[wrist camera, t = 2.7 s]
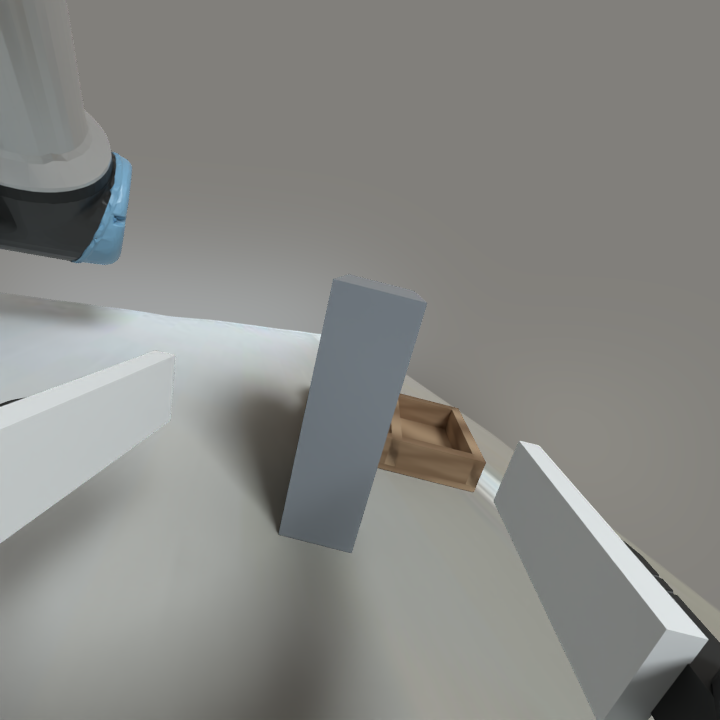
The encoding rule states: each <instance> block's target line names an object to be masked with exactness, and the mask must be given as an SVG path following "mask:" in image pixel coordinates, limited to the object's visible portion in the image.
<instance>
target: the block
mask: <svg viewBox="0 0 720 720" xmlns="http://www.w3.org/2000/svg"><path fill="white" fill-rule="evenodd" d="M426 305H427V302H426V301H424V300H423V299H422V298H421V297H420V296H419V295H418V294H417V293H416V292H415V291H412V290H409V289H405V288H401V287H397V286H393V285H389V284H385V283H382V282H378V281H373V280H369V279H366V278H361V277H358V276H354V275H350V274H348V275H345V276H342V277H338V278H335V279H333V283H332V288H331V292H330V297H329V302H328V306H327V311H326V316H325V320H324V325H323V330H322V334H321V339H320V344H319V348H318V353H317V358H316V362H315V367H314V372H313V376H312V381H311V386H310V390H309V395H308V400H307V404H306V409H305V414H304V418H303V423H302V428H301V432H300V437H299V442H298V446H297V451H296V456H295V460H294V465H293V470H292V474H291V479H290V484H289V488H288V493H287V498H286V502H285V507H284V512H283V516H282V521H281V525H280V530H279V535H282V536H286V537H290V538H294V539H298V540H302V541H306V542H310V543H314V544H318V545H322V546H325V547H329V548H333V549H337V550H341V551H345V552H349V553H352V550H353V547H354V543H355V540H356V537H357V533H358V530H359V527H360V523H361V520H362V517H363V514H364V510H365V507H366V504H367V500H368V497H369V494H370V490H371V487H372V484H373V481H374V477H375V474H376V471H377V467H378V464H379V461H380V457H381V454H382V451H383V448H384V444H385V441H386V438H387V434H388V431H389V428H390V424H391V421H392V418H393V415H394V411H395V408H396V405H397V401H398V398H399V395H400V391H401V388H402V385H403V381H404V378H405V375H406V371H407V368H408V365H409V362H410V358H411V355H412V352H413V348H414V345H415V342H416V339H417V335H418V332H419V329H420V325H421V322H422V319H423V315H424V312H425V309H426Z"/></svg>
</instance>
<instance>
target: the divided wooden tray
mask: <svg viewBox="0 0 720 720" xmlns="http://www.w3.org/2000/svg"><path fill="white" fill-rule="evenodd" d="M485 464H486V462H485V460H484V458H483V456H482V454H481V452H480V450H479V448H478V446H477V444H476V442H475V440H474V438H473V436H472V434H471V432H470V431H469V429H468V427H467V425H466V423H465V421H464V419H463V417H462V415H461V413H460V411H459V409H458V408H455V407H451V406H447V405H443V404H439V403H435V402H431V401H427V400H423V399H419V398H415V397H412V396H408V395H404V394H400V395H399V398H398V401H397V405H396V408H395V411H394V415H393V418H392V421H391V424H390V428H389V431H388V434H387V438H386V441H385V444H384V448H383V451H382V454H381V457H380V461H379V464H378V467H377V468H380V469H384V470H388V471H392V472H396V473H400V474H404V475H408V476H412V477H416V478H420V479H423V480H427V481H431V482H435V483H439V484H443V485H447V486H451V487H455V488H459V489H463V490H467V491H471V492H474V490H475V488H476V485H477V483H478V480H479V478H480V476H481V473H482V471H483V468H484V466H485Z"/></svg>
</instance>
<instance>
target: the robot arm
mask: <svg viewBox="0 0 720 720" xmlns="http://www.w3.org/2000/svg"><path fill="white" fill-rule="evenodd" d="M131 175H132V166H131V164H130V162H129V161H128V160H127V159H125V158H123V157H121V156H119V154H117V153H114V152H111V148H110V144H109V140H108V138H107V136H106V134H105V132H104V131H103V129H102V128H101V126H100V125H99V124H98V123H97V122H96V120H95V119H94V118H93V117H92V116H91V115H90V114H89V113H88V112H86V111H85V110H84V105H83V100H82V93H81V87H80V80H79V74H78V68H77V62H76V56H75V50H74V44H73V37H72V31H71V25H70V19H69V13H68V7H67V1H66V0H0V249H5V250H10V251H16V252H22V253H27V254H33V255H39V256H45V257H50V258H56V259H62V260H67V261H71V262H74V263H81V262H85V263H94V264H102V265H108V264H112V263H114V262H115V261H117V260H118V259H119V257H120V254H121V249H122V243H123V237H124V229H125V220H126V214H127V208H128V201H129V193H130V184H131ZM175 357H176V355H173V354H169V353H165V352H161V351H157V350H155V351H152V352H149V353H147V354H144V355H141V356H138V357H136V358H133V359H130V360H127V361H125V362H122V363H119V364H117V365H114V366H111V367H108V368H106V369H103V370H100V371H97V372H95V373H92V374H89V375H86V376H84V377H81V378H78V379H75V380H73V381H70V382H67V383H65V384H62V385H59V386H56V387H54V388H51V389H48V390H45V391H43V392H40V393H37V394H34V395H32V396H29V397H25V398H20V399H15V400H10V401H7V402H5V403H2V404H0V543H1V542H3V541H4V540H6V539H7V538H8V537H10V536H11V535H13V534H14V533H15V532H17V531H18V530H19V529H21V528H22V527H24V526H25V525H26V524H28V523H29V522H31V521H32V520H33V519H35V518H36V517H38V516H39V515H40V514H42V513H43V512H44V511H46V510H47V509H49V508H50V507H51V506H53V505H54V504H56V503H57V502H58V501H60V500H61V499H62V498H64V497H65V496H67V495H68V494H69V493H71V492H72V491H74V490H75V489H76V488H78V487H79V486H80V485H82V484H83V483H85V482H86V481H87V480H89V479H90V478H92V477H93V476H94V475H96V474H97V473H99V472H100V471H101V470H103V469H104V468H105V467H107V466H108V465H110V464H111V463H112V462H114V461H115V460H117V459H118V458H119V457H121V456H122V455H123V454H125V453H126V452H128V451H129V450H130V449H132V448H133V447H135V446H136V445H137V444H139V443H140V442H141V441H143V440H144V439H146V438H147V437H148V436H150V435H151V434H153V433H154V432H155V431H157V430H158V429H159V428H161V427H162V426H164V425H165V424H166V423H168V422H169V421H170V419H171V407H172V395H173V382H174V370H175ZM494 503H495V505H496V507H497V510H498V512H499V514H500V516H501V518H502V520H503V522H504V524H505V526H506V529H507V531H508V533H509V535H510V537H511V539H512V541H513V543H514V546H515V548H516V550H517V552H518V554H519V556H520V558H521V560H522V563H523V565H524V567H525V569H526V571H527V573H528V575H529V577H530V580H531V582H532V584H533V586H534V588H535V590H536V592H537V594H538V597H539V599H540V601H541V603H542V605H543V607H544V609H545V611H546V614H547V616H548V618H549V620H550V622H551V624H552V626H553V628H554V630H555V633H556V635H557V637H558V639H559V641H560V643H561V645H562V647H563V650H564V652H565V654H566V656H567V658H568V660H569V662H570V664H571V667H572V669H573V671H574V673H575V675H576V677H577V679H578V681H579V684H580V686H581V688H582V690H583V692H584V694H585V696H586V698H587V701H588V703H589V705H590V707H591V709H592V711H593V713H594V715H595V717H596V720H648V719H649V718H650V717H651V715H652V716H653V718H654V720H720V642H719V641H718V640H717V639H716V638H715V637H714V636H713V635H712V634H711V632H710V631H709V630H708V629H707V628H706V627H705V626H704V625H703V623H702V622H701V621H700V620H699V619H698V618H697V617H696V616H695V615H694V613H693V612H692V611H691V610H690V609H689V608H688V607H687V606H686V605H685V603H684V602H683V601H682V600H681V599H680V598H679V597H678V596H677V595H675V594H673V590H672V589H671V588H670V587H669V586H668V584H667V583H666V582H665V581H664V580H663V579H661V578H659V574H658V573H657V572H656V571H655V570H654V569H653V568H652V567H651V565H650V564H649V563H648V562H647V561H646V560H645V559H644V558H643V557H642V556H641V555H640V554H639V553H638V552H636V551H635V550H634V549H633V548H632V547H630V546H629V545H628V544H627V543H626V542H624V541H623V540H622V539H620V538H619V536H618V535H617V534H616V533H615V532H614V531H613V530H612V528H611V527H610V526H609V525H608V524H607V523H606V522H605V520H604V519H603V518H602V517H601V516H600V515H599V514H598V512H597V511H596V510H595V509H594V508H593V507H592V506H591V504H590V503H589V502H588V501H587V500H586V499H585V497H584V496H583V495H582V494H581V493H580V492H579V491H578V489H577V488H576V487H575V486H574V485H573V484H572V483H571V482H570V480H569V479H568V478H567V477H566V476H565V475H564V473H563V472H562V471H561V470H560V469H559V468H558V467H557V465H556V464H555V463H554V462H553V461H552V460H551V459H550V457H549V456H548V455H547V454H546V453H545V452H544V451H543V449H542V448H541V447H540V446H539V445H534V444H531V443H527V442H523V441H519V442H518V444H517V447H516V449H515V451H514V454H513V456H512V458H511V461H510V463H509V466H508V468H507V470H506V473H505V475H504V477H503V480H502V482H501V484H500V487H499V489H498V492H497V494H496V496H495V499H494Z"/></svg>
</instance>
